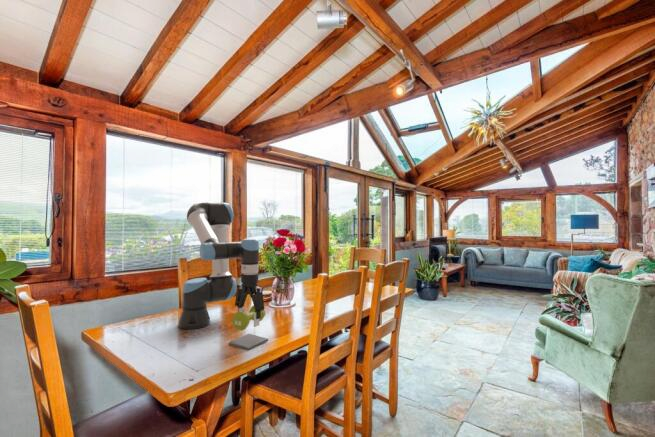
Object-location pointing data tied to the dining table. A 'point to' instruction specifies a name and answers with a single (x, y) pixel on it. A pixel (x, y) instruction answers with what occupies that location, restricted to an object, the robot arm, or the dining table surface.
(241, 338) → the trivet
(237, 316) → the dumbbell
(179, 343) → the dining table surface
